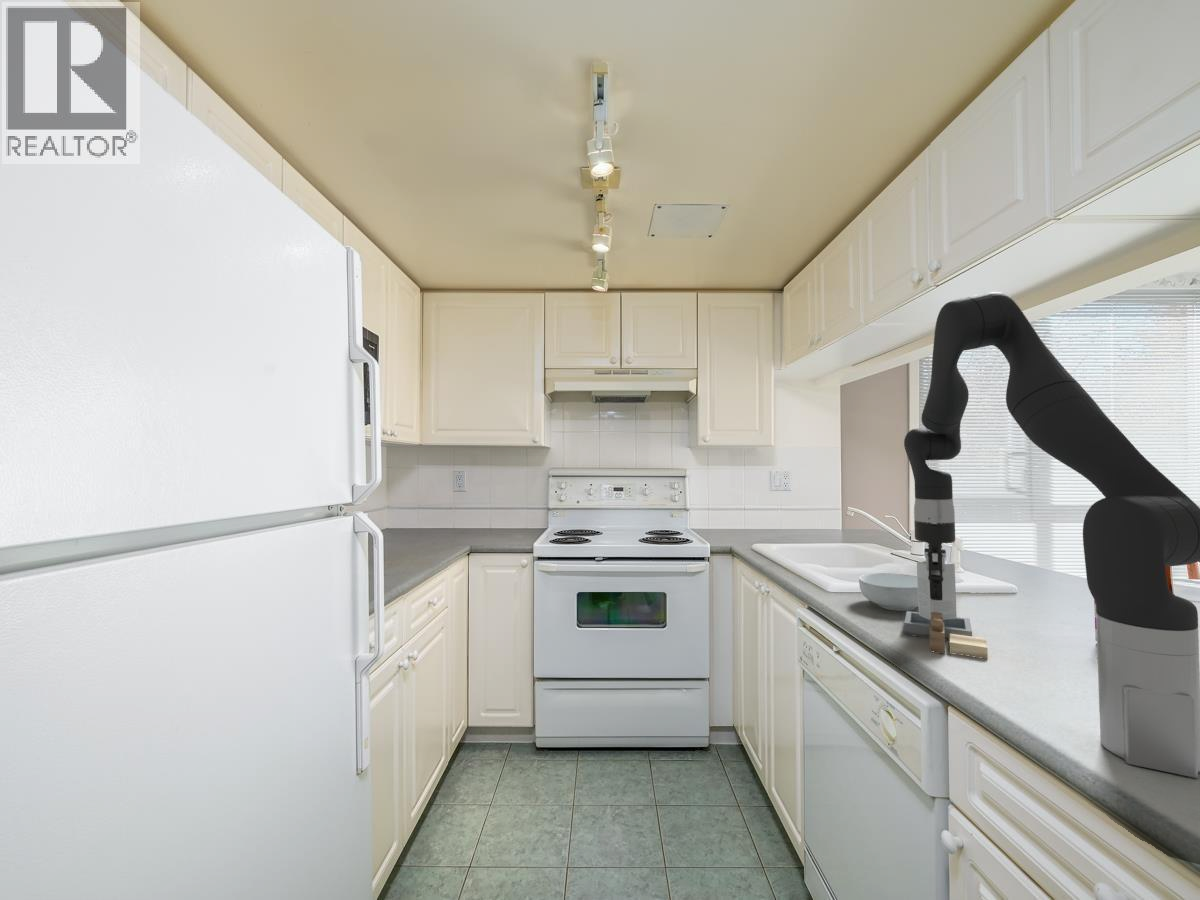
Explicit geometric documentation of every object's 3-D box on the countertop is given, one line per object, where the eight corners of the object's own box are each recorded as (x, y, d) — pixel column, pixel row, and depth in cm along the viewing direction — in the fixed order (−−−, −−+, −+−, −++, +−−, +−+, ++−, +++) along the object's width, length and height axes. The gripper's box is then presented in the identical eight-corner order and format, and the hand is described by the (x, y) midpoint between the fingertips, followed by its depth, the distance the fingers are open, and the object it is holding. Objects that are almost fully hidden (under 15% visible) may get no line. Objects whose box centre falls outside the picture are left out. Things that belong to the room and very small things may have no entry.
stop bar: (945, 653, 104) (944, 622, 104) (930, 651, 105) (929, 621, 105) (944, 641, 111) (943, 612, 111) (930, 639, 112) (929, 610, 112)
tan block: (987, 660, 101) (987, 647, 101) (949, 655, 104) (949, 642, 105) (986, 651, 106) (986, 638, 106) (950, 645, 109) (949, 633, 110)
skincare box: (942, 614, 119) (941, 559, 119) (958, 620, 115) (956, 563, 115) (916, 615, 119) (915, 560, 119) (931, 621, 114) (929, 564, 114)
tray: (972, 643, 109) (972, 631, 109) (904, 634, 116) (904, 622, 116) (969, 629, 118) (969, 618, 118) (906, 621, 124) (906, 611, 124)
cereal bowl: (882, 594, 148) (881, 569, 148) (947, 608, 134) (946, 580, 134) (845, 604, 139) (845, 577, 139) (911, 620, 125) (910, 590, 125)
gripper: (915, 515, 125) (917, 586, 125) (913, 522, 113) (915, 601, 113) (953, 516, 121) (955, 590, 121) (955, 524, 109) (958, 606, 109)
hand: (936, 595), depth 117 cm, fingers closed on skincare box, 6 cm apart
